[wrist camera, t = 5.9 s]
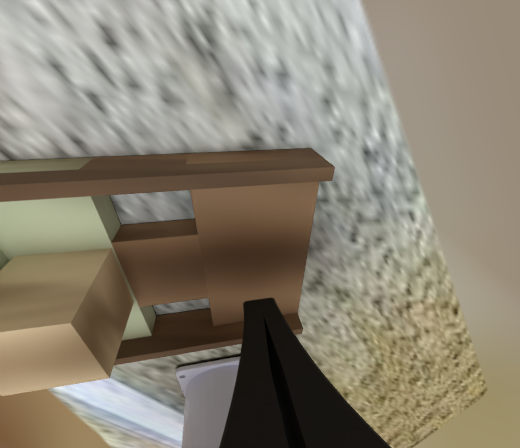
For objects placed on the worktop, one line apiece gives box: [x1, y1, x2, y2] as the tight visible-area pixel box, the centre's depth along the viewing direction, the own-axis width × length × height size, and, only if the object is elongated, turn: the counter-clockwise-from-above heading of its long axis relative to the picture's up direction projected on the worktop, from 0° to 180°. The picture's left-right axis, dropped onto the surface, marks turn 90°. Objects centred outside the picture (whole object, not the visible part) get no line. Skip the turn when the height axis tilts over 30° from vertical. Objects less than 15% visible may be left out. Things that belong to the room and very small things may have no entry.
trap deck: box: [0, 148, 335, 365], centre depth 12 cm, size 12×15×4 cm
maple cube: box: [0, 248, 134, 396], centre depth 10 cm, size 4×4×4 cm
